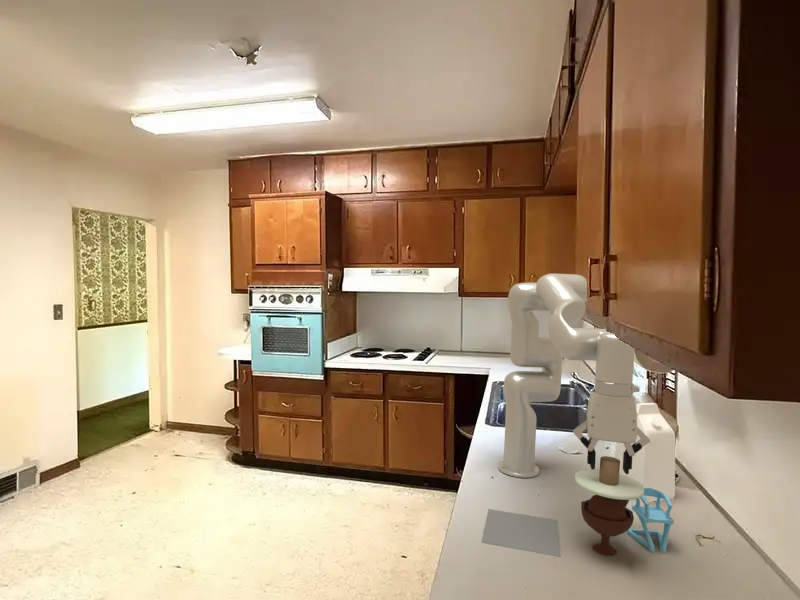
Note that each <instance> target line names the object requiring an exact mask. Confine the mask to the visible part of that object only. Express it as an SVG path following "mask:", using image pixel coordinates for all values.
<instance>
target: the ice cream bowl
mask: <svg viewBox="0 0 800 600" xmlns="http://www.w3.org/2000/svg"><path fill="white" fill-rule="evenodd" d="M629 502H630V500H620V499H612V498H607V497H603V496H599V495H596V494H593V495H592V496H591V497H590V499H586V500H583V501H581V504H580V505H581V507H580V509H581V516H582V517H583V520H584V522H585V523H586V524H587V525H588V527H590V528H591V529H592V530H594V531H595V532H596V533H597V534H600V542H596V543H594V544H592V547H591V548H592V550H593V551H594V552H596V554H599V555H602V556H608V557H613V556H616V555H617V554H618V551H617V549H616V548H614V547H613V546H612V545H610V538H611V537H617V536H619V535H622V534H624V533H625V532H626V533H627V530H629V529H631V527H632V526H633V523H634V520H635V517H634V511H632V510H630V509H629V508H627V505H628V503H629Z"/></svg>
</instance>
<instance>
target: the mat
mask: <svg viewBox="0 0 800 600" xmlns="http://www.w3.org/2000/svg"><path fill="white" fill-rule="evenodd" d="M484 523H485V524H484V528H483V534H482V537H481V538H482V539H481V542H480V543H481V544H487V545H493V546H497V547H503V548H510V549H514V550H518V551H519V550H520V551H524V552H525V551H526V552H532V553H536V554H544V555H549V556H553V557H559V558H561V557H562V552H561V542H560V541H561V540H560V532H559V531H560V530H559V521H558V519H554V518H553V519H552V518H546V517H540V516H534V515H529V514H522V513H516V512H510V511H504V510H499V509H498V510H497V509H492V508H488V511H487V515H486V520H485V522H484Z"/></svg>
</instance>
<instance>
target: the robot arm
mask: <svg viewBox="0 0 800 600" xmlns="http://www.w3.org/2000/svg"><path fill="white" fill-rule="evenodd" d="M586 280H587V278H586V277H584V276H583V275H581V274H577V273H576V274H573V273H571V274H570V273H547V274H544V275H543V276H540V277H539V278H538V280H537V282H519V283H515V284H513V285H512V286H511V287H510V290H509V292H508V296H507V305H508V307H507V308H508V312H509V315H510V321H511V328H510V347H509V348H510V351H509V352H510V353H509V355H510V360H511V363H512V364H513V365H515V366H516V367H518V368H519V367H520V368H521V367H522V368H541V371H540V370H535V371H534V370H516V371H511V372H509V373H508V374H507V375H505V377H504V381H503V390H504V398H505V420H504V421H505V422H504V423H505V424H504V443H503V444H504V445H503V460H502V461H500V462H499V463H498V470H499V471H500V472H502V473H503V474H505V475H507V476H511V477H514V478H522V479H526V478H528V479H529V478H534V477H538V475H539V474H540V468H539V467H538V466H537V465H536V464H535V462H536V461H535V459H536V457H535V455H536V442H537V441H536V439H537V437H536V436H537V415H536V412H535V410H534V409H533V408H532V406H531V404H530V403H536V402H538V403H539V402H542V403H543V402H546V403H547V402H554V401H556V400H558V398H559V396H560V393H561V389H562V371H563V370H562V369H563V368H562V367H563V358H564V359H567V360H569V361H594V362H595V375H594V376H595V377H594V391H591V392H590V394H589V397H588V403H587V409H586V417H585V419H586V420H584V421H583V422H581V423H580V424H579V425H577V426H576V427H575V428H574V429H573V431H572V432H573V434H574V435H575V437H576V438H577V439H578V440H579V441H580V443H581V444H583V446H584V447H585V448H586V449H587V459H586V460H587V461H586V464H587V465H589V467H590V469H592V470H594V469H595V470H596V454H597V452H596V449H595V447H596V446H597V444H598V442H599V441H603V442H612V443H616V442H619V443H624V445H625V448H626V450H625V451H624V453H623V470H624V473H626V474H629V469H632V456H634V455H635V453H636V452H638V451H639V450H640V449H642V447H643V446H645V445H646V444H648V443H649V442H650V439H649V438H648V437H647V436H646V435H645V434H644V433H643V432H642V431H641V430H640V429H639V428H638V426H637V410H636V406H637V403H636V397H635V395H633V394H634V393H640V391H641V390H640V388H641V387H640V386H639V385H636V384H634V383H633V381H634V379H633V378H634V366H635V365H634V363H635V362H634V361H635V348H634V349H633V348H632V347H630V346H628V345H626V344H625V343H623V342H621V341H619V340H618V339H619V338H617V337H616V336H615V334H613V333H610V332H607V331H606V329H607V328H594V327H593V328H590V327H589V328H588V327H585V328H584V327H572V325H575V324H576V323H577V322H579V321H580V320H581V319H582V318H583V317H584V315H585V312H586V310H587V309H586V303H587V301H588V300H587V281H588V280H587V281H586ZM534 311H538V312H539V311H540V312H549V313H550V314H551V316H550V318H549V322H548V335H549V337H547V336H544V337H543V336H540V321H539V319H538V317H537V315H536V314H535V312H534ZM584 431H585V432H586V433H587V436H588V438H587V437H586V436H585V435H584V434H583V432H584ZM637 435H638V436H639V437H640V440H639V441H638V442H635V441H636V439H637ZM634 442H635V443H634ZM631 443H634V444H633V445H631Z"/></svg>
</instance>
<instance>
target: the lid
mask: <svg viewBox="0 0 800 600" xmlns="http://www.w3.org/2000/svg"><path fill="white" fill-rule="evenodd" d="M599 461H600V462H599V469H596V468H595V469H594V470H592V469H591V468H590V469H583V470H579V471H578V472H576V473H575V475H574V481H575V484H576V485H577V486H578V487H580V488H581V489H583V490H585V491H587V492H589V493H591V494H593V495H595V494H596V495H599V496H603V497H607V498H612V499H620V500H629V501H632V500H634V499H638V498H640V497H642V496H643V494H644V487H643V486H642V485H641V484H640V483H639V482H638V481H636V480H634V479H633V478H630V477H628V476H625V475H622V474H619V471H620V460H618V459H616V458H614V457H613V456H608V455H607V456H606V455H604V456H600V459H599Z"/></svg>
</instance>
